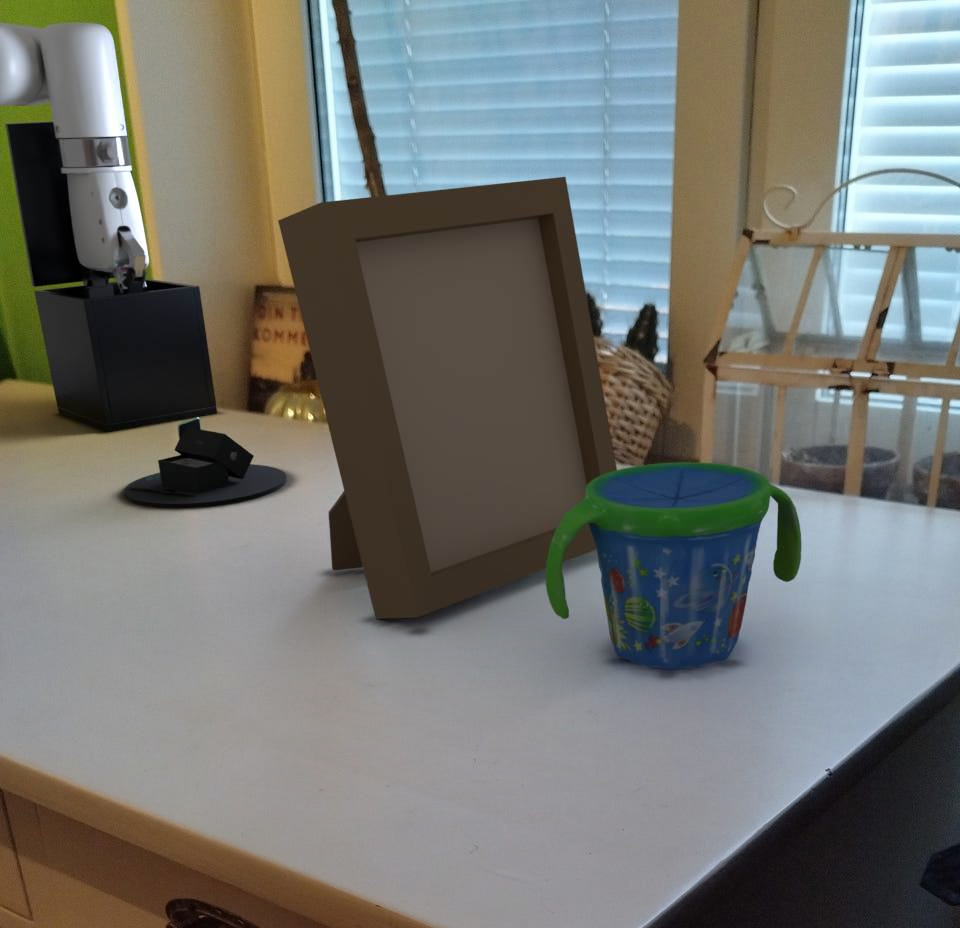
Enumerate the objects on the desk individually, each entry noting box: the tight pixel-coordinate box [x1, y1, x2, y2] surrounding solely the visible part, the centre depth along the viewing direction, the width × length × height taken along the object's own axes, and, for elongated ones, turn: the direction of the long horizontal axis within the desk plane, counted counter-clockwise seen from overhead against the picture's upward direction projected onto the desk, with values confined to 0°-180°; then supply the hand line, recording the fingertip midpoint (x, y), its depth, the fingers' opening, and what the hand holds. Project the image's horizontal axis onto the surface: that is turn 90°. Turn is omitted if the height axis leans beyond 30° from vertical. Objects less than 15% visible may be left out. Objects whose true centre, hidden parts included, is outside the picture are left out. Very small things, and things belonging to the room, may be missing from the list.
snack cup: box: [545, 461, 802, 671], centre depth 77 cm, size 16×10×10 cm
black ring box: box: [123, 416, 288, 508], centre depth 121 cm, size 15×15×6 cm
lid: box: [4, 118, 134, 288], centre depth 152 cm, size 16×14×6 cm
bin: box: [33, 278, 218, 433], centre depth 153 cm, size 16×14×14 cm
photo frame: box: [277, 176, 618, 620], centre depth 90 cm, size 15×22×25 cm
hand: (120, 326), depth 151 cm, fingers open, 8 cm apart
